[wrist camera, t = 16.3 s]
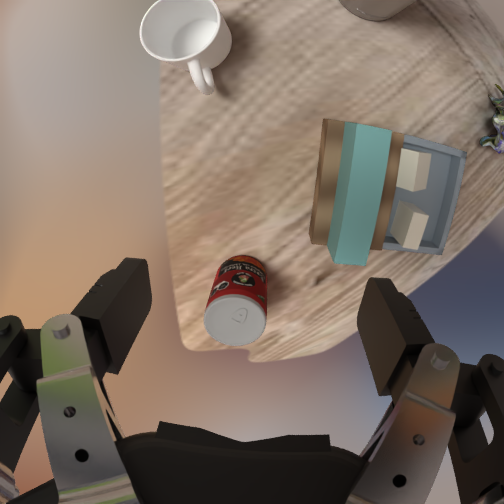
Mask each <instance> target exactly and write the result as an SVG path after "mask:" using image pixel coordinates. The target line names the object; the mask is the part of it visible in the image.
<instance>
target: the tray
mask: <svg viewBox="0 0 504 504" xmlns="http://www.w3.org/2000/svg"><path fill="white" fill-rule="evenodd" d="M403 148H407V149H416V150H420V151H423V152H427V153H431V161H430V168H429V174H428V180H427V185H426V189H423V190H419V191H414V192H412V191H409V190H406V189H403V188H400V187H397V186H396V190H395V195H394V200H393V205H392V209H391V214H390V218H389V223H388V227H387V231H386V235H385V239H384V243H383V247H382V249H387V250H397V251H407V252H417V253H427V254H436V255H442V253H443V250H444V247H445V243H446V240H447V237H448V233H449V230H450V226H451V223H452V219H453V215H454V212H455V208H456V204H457V200H458V195H459V191H460V186H461V182H462V177H463V172H464V167H465V161H466V155H467V152H465V151H462V150H458V149H455V148H452V147H449V146H446V145H442V144H439V143H436V142H432V141H428V140H425V139H421V138H417V137H413V136H410V135H406V134H405V135H404V142H403ZM399 200H400V201H404V202H408V203H412V204H414V205H416V206H417V207H418V208H420V209H421V210H422V211H423V212H425V213H426V214H427V215H429V217H428V221H427V224H426V227H425V230H424V233H423V236H422V239H421V242H420V244H419V247H418V250H414V249H409V248H403V247H402V246H401V245H400V244H399V242H398V241H397V240H396V239H395V238H394V237H393V236H392V234H391V233H390V230H391V227H392V224H393V220H394V217H395V214H396V210H397V207H398V203H399Z"/></svg>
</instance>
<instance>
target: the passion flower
mask: <svg viewBox="0 0 504 504" xmlns="http://www.w3.org/2000/svg"><path fill="white" fill-rule="evenodd" d="M495 85H496V87H497V88H498V89H499V90H500V91H501V93H502V94H503V96H504V91H503V90H502V89H501V87H500V86H499V85H497V84H495ZM488 96H489V98H490V99H491V100H492V104H493V105H494V106H495V107H496V114H494V115H493V117H492V123H493V125H494V126H495V128H496V130H497V135H490V136H484V137H482V138H481V140H480V144H481V146H482V147H483V146H488V145H490V146H492V148H493V149H494V150H496V151H497V152H498V153H504V110H503V109H504V106H501V105H499V104H500V103H501V102H503V101H504V97H503V99H498V98H494V97H491V96H490V95H488ZM498 109H499V110H498ZM500 113H501V114H500Z"/></svg>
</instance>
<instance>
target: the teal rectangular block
mask: <svg viewBox="0 0 504 504" xmlns="http://www.w3.org/2000/svg"><path fill="white" fill-rule="evenodd" d="M391 134H392V131H391V130H387V129H382V128H378V127H373V126H368V125H363V124H357V123H351V122H345V127H344V136H343V144H342V152H341V160H340V167H339V174H338V181H337V188H336V195H335V201H334V207H333V213H332V219H331V225H330V231H329V236H328V242H327V246H328V249H329V252H330V254H331V257H332V259H333V262H334V263H336V264H349V265H362V266H366V262H367V258H368V254H369V250H370V246H371V242H372V238H373V234H374V229H375V225H376V220H377V216H378V211H379V206H380V201H381V196H382V191H383V185H384V180H385V174H386V168H387V162H388V155H389V149H390V142H391Z"/></svg>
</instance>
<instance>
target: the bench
mask: <svg viewBox="0 0 504 504" xmlns="http://www.w3.org/2000/svg"><path fill="white" fill-rule="evenodd" d="M344 127H345V122H342V121H336V120H329V119H323V124H322V134H321V143H320V152H319V161H318V169H317V177H316V185H315V193H314V200H313V207H312V214H311V221H310V228H309V236H310V239H311V243H312V244H318V245H327V242H328V236H329V231H330V225H331V219H332V213H333V207H334V201H335V195H336V188H337V181H338V174H339V167H340V160H341V152H342V144H343V136H344ZM404 135H405V134H401V133H397V132H393V131H392V134H391V142H390V149H389V155H388V162H387V168H386V174H385V180H384V185H383V191H382V196H381V201H380V206H379V211H378V216H377V220H376V225H375V229H374V234H373V238H372V242H371V246H370V249H372V250H382V247H383V243H384V239H385V235H386V231H387V227H388V223H389V218H390V214H391V209H392V205H393V200H394V195H395V190H396V183H397V177H398V170H399V163H400V156H401V148H403V142H404Z"/></svg>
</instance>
